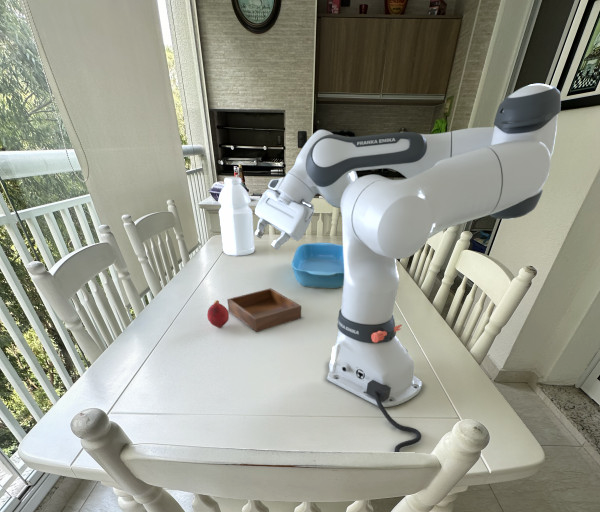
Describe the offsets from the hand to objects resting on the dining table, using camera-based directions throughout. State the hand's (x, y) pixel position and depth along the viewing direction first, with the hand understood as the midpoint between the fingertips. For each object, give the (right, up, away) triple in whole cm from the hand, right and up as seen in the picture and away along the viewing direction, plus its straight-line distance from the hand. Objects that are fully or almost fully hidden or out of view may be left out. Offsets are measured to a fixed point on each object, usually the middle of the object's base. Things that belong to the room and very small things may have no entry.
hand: (265, 242), depth 96 cm
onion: (-13, -23, +4) cm, 27 cm away
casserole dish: (+18, +5, +39) cm, 43 cm away
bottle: (-18, +23, +61) cm, 67 cm away
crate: (-1, -17, +11) cm, 20 cm away
